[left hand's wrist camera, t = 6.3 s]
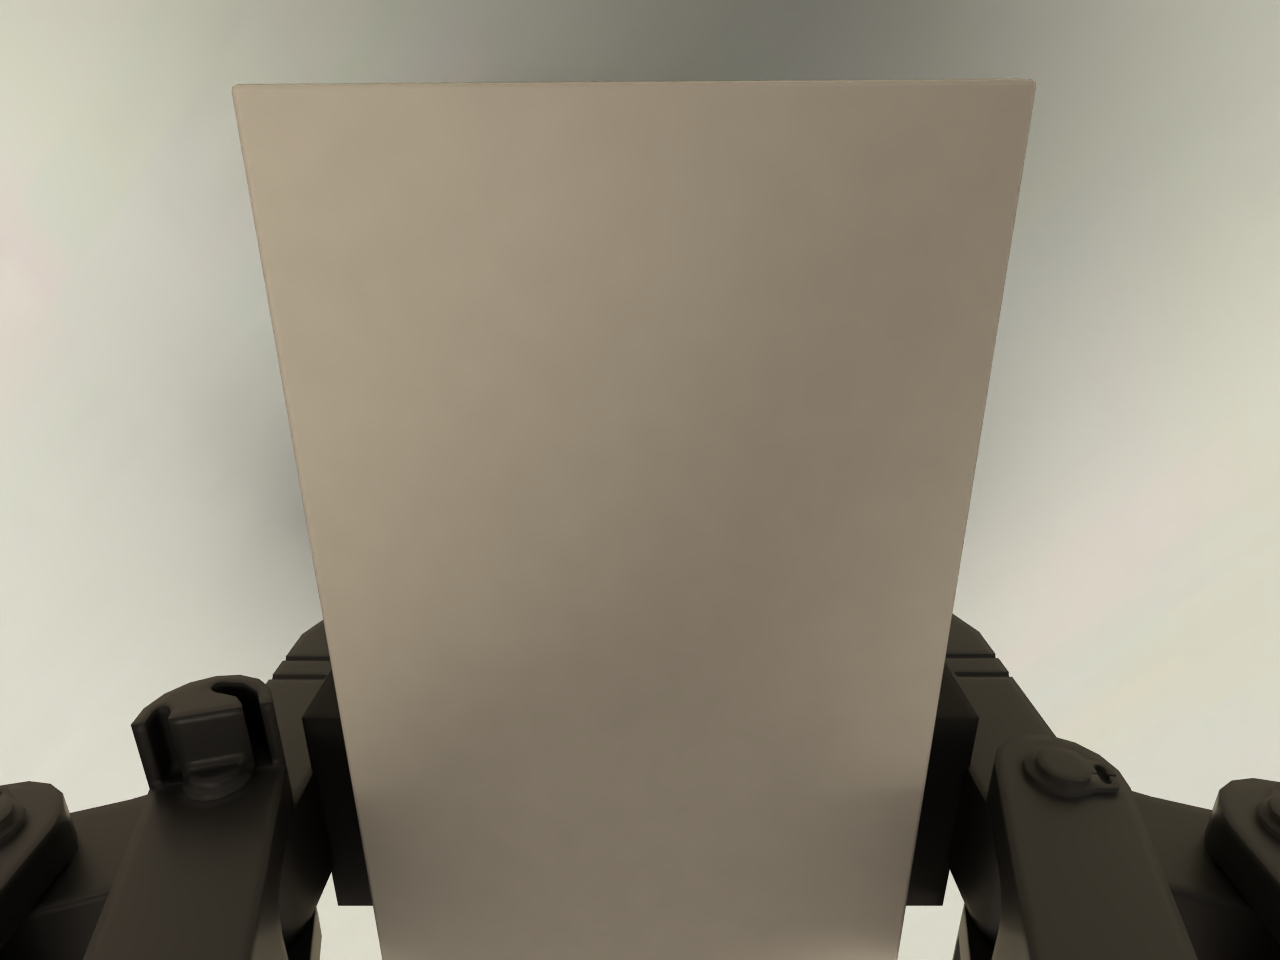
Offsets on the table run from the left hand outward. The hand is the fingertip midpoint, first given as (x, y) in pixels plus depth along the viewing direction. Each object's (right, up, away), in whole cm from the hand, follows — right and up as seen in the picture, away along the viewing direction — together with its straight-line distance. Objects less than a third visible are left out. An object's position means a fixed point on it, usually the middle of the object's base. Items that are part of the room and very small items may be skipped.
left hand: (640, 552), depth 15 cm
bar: (0, -25, +10) cm, 27 cm away
